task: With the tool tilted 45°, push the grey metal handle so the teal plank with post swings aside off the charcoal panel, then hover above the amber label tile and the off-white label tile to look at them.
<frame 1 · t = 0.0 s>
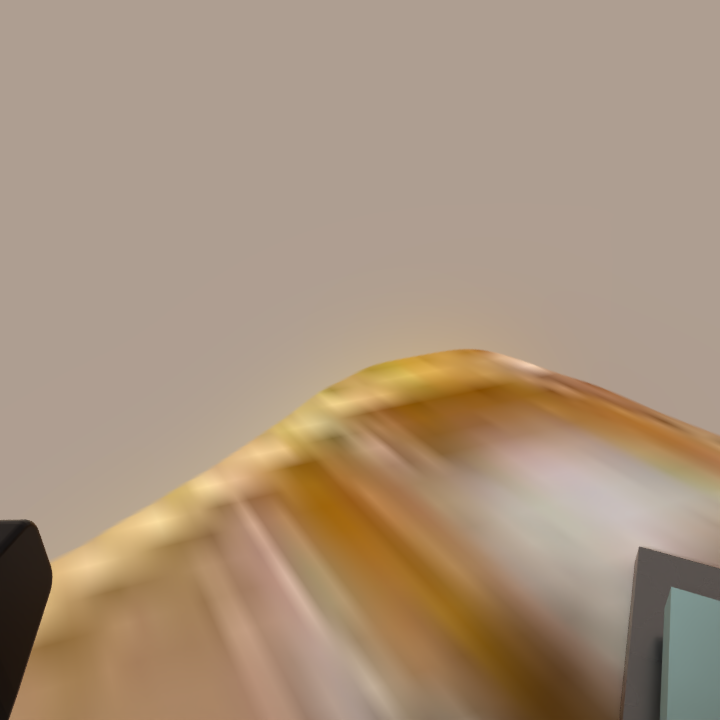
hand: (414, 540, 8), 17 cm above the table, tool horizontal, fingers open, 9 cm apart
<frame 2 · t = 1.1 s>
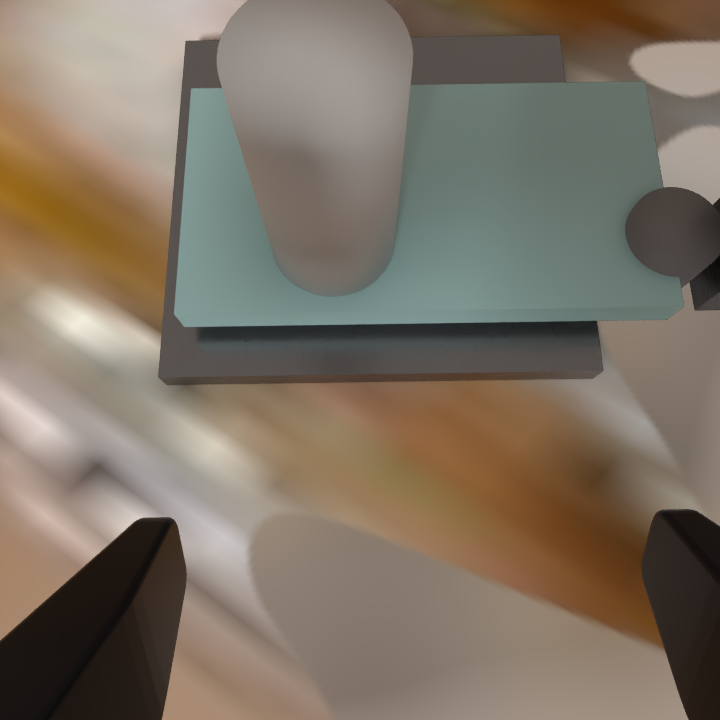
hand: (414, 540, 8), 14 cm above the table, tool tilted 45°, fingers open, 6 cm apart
teal plank with post: (457, 140, 18), point 6 cm above the table, hinge at 0.0°
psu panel: (633, 273, 23), on the table
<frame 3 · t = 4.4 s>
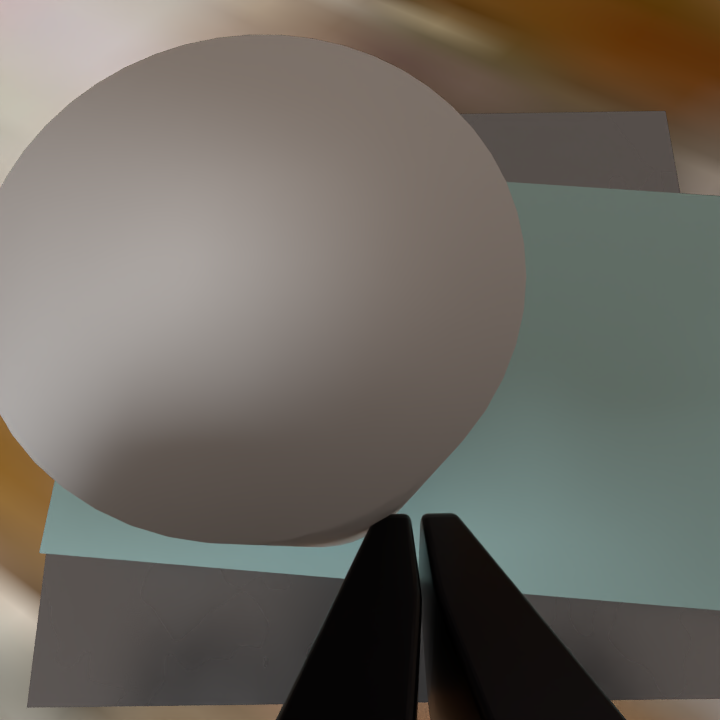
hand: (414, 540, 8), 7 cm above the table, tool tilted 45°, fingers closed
teal plank with post: (555, 321, 10), point 6 cm above the table, hinge at 5.3°, touching gripper
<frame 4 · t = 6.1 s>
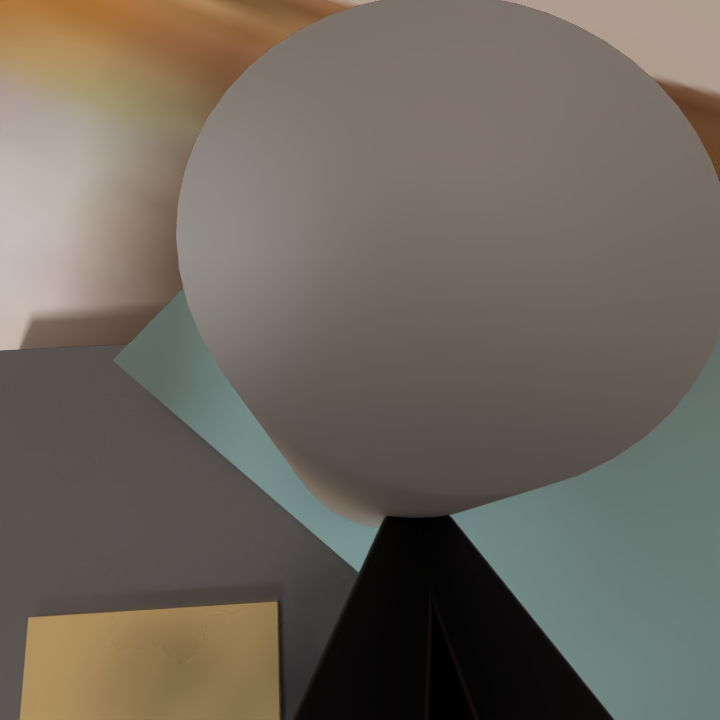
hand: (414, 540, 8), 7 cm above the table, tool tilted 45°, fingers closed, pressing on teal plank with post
teal plank with post: (668, 456, 9), point 6 cm above the table, hinge at 42.6°, touching gripper
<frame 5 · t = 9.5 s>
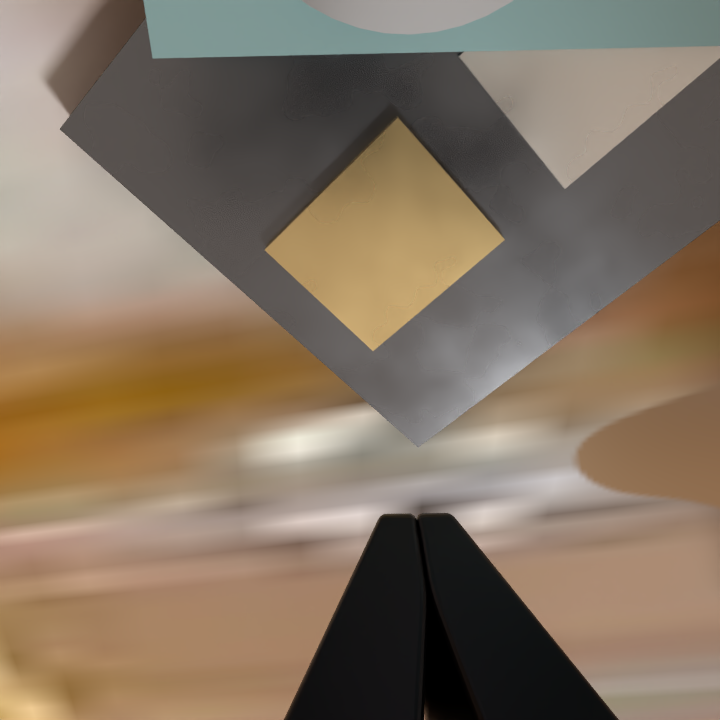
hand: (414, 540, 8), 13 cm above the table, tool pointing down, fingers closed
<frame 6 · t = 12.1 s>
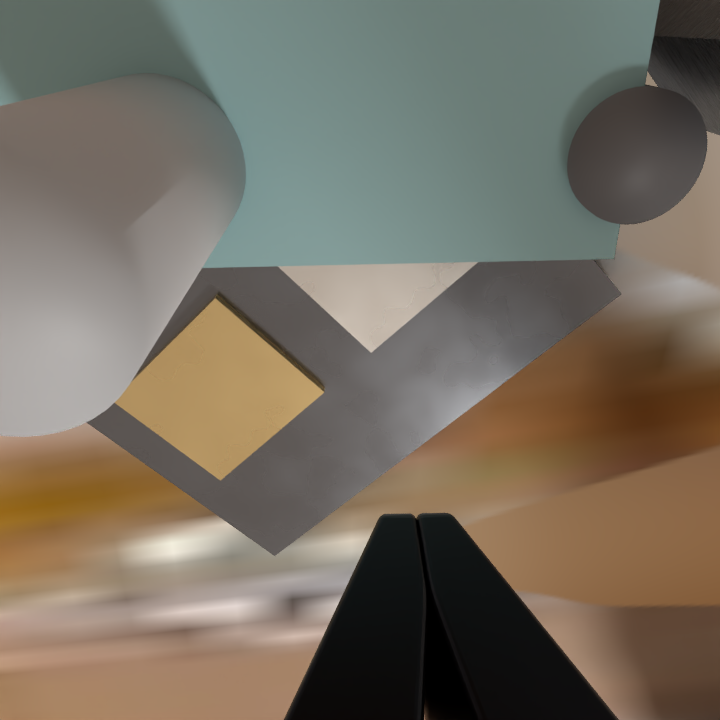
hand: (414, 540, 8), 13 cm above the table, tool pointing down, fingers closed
teal plank with post: (308, 94, 11), point 6 cm above the table, hinge at 42.7°
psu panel: (590, 135, 17), on the table
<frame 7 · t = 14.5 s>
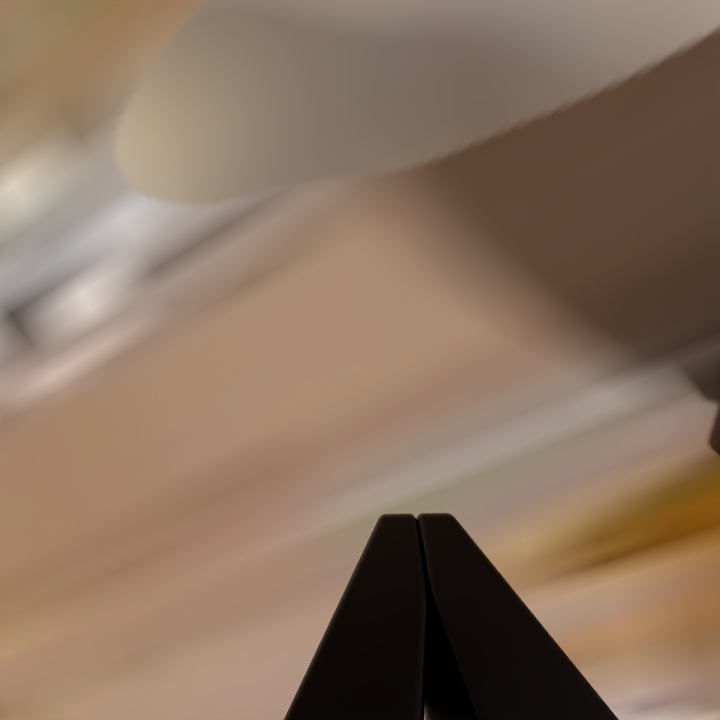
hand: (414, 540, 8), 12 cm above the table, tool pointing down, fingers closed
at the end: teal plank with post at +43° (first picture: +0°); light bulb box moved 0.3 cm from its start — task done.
